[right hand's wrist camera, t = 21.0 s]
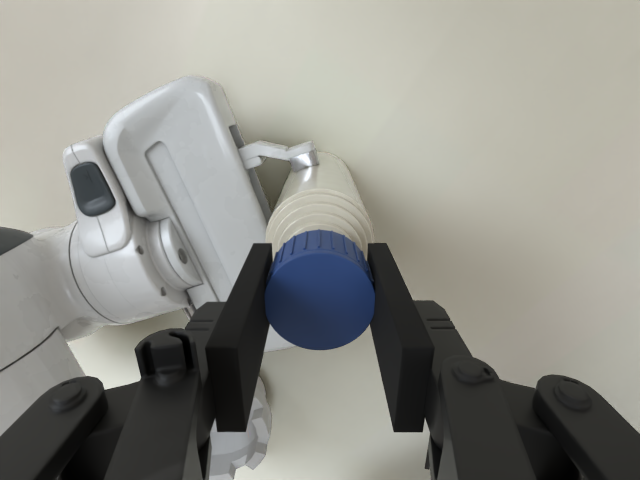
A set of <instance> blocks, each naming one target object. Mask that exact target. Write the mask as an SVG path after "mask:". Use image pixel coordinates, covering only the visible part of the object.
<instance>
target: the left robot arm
mask: <svg viewBox="0 0 640 480" xmlns="http://www.w3.org/2000/svg"><path fill="white" fill-rule="evenodd" d="M266 157H270V158H276V159H281V160H286V161H290V163H291V166H292V169H293V171H294V172H297V171H300V170H302V169H304V168H305V167H306V166H307V167H312V166H315V165H317V164H319V158H318V155H317V152H316V148H315V145H314V142H313V140H312V141H307V142H305V143H302V144H299V145H296V146H293V147H290V148H288V146H284V145H280V144H275V143H271V142H266V141H262V140H259V141H256V142H253V143H250V144H247V145H245V143H244V140H243V138H242V135H241V133H240V130H239V128H238V125H237V123H236V120H235V118H234V115H233V112H232V110H231V107H230V105H229V102H228V100H227V97H226V95H225V92H224V90H223V87H222V86H221V85H220V84H219V83H217V82H215V81H213V80H211V79H209V78H206V77H204V76H200V75H189V76H185V77H182V78H179V79H177V80H174V81H172V82H170V83H167V84H165V85H163V86H161V87H159V88H157V89H155V90H153V91H151V92H149V93H147V94H145V95H143V96H141V97H140V98H138V99H136V100H134V101H133V102H131V103H129V104H128V105H126V106H125V107H123V108H122V109H120V110H119V111H117V112H116V113H115V114H114V115H113V116H112V117H111V118H110V119H109V121H108V122H107V124H106V126H105V128H104V132H103V135H98V136H94V137H91V138H88V139H85V140H82V141H79V142H77V143H75V144H72V145H70V146H68V147H67V148H66V149H65V150H64V152H63V163H64V167H65V171H66V175H67V178H68V182H69V186H70V190H71V194H72V198H73V202H74V207H75V212H76V217H77V220H75V221H74V222H72V223H71V224H70V225H68V226H65V227H49V228H43V229H39V230H36V231H33V232H30V233H28V232H24V231H21V230H16V229H11V228H5V227H0V436H1V435H2V434H3V433H4V432H5V431H6V430H7V429H8V428H9V427H10V426H11V425H12V424H13V423H14V422H15V421H16V420H17V419H18V418H19V417H20V416H21V415H22V414H23V413H24V412H25V411H26V410H27V409H28V408H29V407H30V406H31V405H32V404H33V403H34V402H35V401H36V400H37V399H38V398H39V397H40V396H41V395H43V394H44V393H45V392H46V391H48V390H49V389H50V388H52V387H54V386H56V385H57V384H59V383H61V382H63V381H66V380H69V379H73V378H76V377H84V376H86V375H85V373H84V372H83V370H82V368H81V367H80V365H79V363H78V361H77V360H76V358H75V356H74V355H73V353H72V351H71V349H70V348H69V346H68V344H67V343H66V342H70V341H73V340H77V339H80V338H83V337H86V336H88V335H90V334H92V333H94V332H95V331H97V330H98V329H100V328H101V327H103V326H106V325H127V324H131V323H135V322H138V321H141V320H145V319H148V318H152V317H155V316H158V315H162V314H165V313H168V312H172V311H175V310H179V309H183V311H184V313H185V314H186V316H187V318H188V320H189V321H190V319H191V317H192V316H193V314H194V312H195V311H196V310H197V309H198V308H199V307H201V306H202V305H203V304H205V303H206V302H226V301H227V299H228V297H229V295H230V292H231V290H232V288H233V286H234V284H235V282H236V280H237V277H238V275H239V273H240V271H241V269H242V267H243V264H244V262H245V260H246V258H247V256H248V254H249V252H250V249H251V247H252V245H253V243H266V242H265V237H266V229H267V225H268V223H269V220H270V217H271V215H272V212H271V209H270V207H269V204H268V202H267V199H266V196H265V194H264V191H263V189H262V186H261V184H260V181H259V179H258V176H257V174H256V171H255V168H254V167H256V166H259V165H261V164H262V163H263V162H264V161H265V160H266ZM295 346H296V345H294V344H292V343H290V342H288V341H286V340H285V339H283V338H282V337H281V336H280V335H279V334H278V333H277V332H276V331H275V330H274V329H273V327H272V326H271V325H270V326H269V331H268V335H267V340H266V344H265V349H264V352H270V351H276V350H282V349H287V348H292V347H295Z"/></svg>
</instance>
